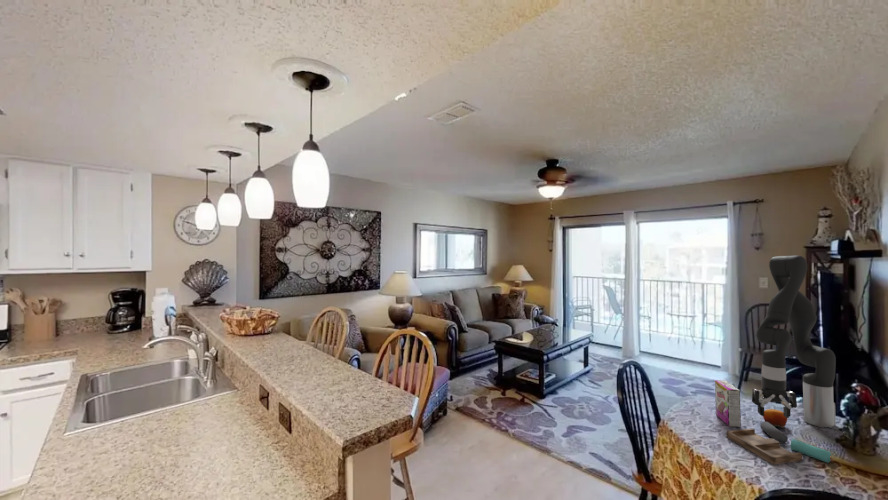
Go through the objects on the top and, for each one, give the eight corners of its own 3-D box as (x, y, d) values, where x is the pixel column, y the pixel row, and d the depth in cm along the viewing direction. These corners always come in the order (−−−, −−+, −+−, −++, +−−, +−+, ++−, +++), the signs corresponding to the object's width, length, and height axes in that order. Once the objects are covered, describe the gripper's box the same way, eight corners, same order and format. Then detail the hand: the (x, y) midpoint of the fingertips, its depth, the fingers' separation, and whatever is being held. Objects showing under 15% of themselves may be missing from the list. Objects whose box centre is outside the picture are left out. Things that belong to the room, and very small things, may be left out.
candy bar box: (715, 415, 171) (714, 379, 170) (727, 415, 170) (726, 380, 169) (728, 427, 160) (727, 389, 159) (741, 427, 159) (740, 389, 158)
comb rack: (752, 434, 153) (752, 428, 153) (802, 460, 134) (802, 453, 134) (726, 437, 152) (726, 431, 152) (773, 464, 133) (773, 457, 133)
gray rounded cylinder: (763, 432, 156) (758, 423, 156) (773, 429, 155) (768, 420, 155) (778, 445, 146) (773, 435, 147) (789, 441, 145) (784, 432, 146)
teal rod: (791, 451, 141) (789, 443, 141) (796, 444, 143) (793, 436, 142) (828, 465, 133) (825, 456, 132) (832, 457, 134) (829, 449, 133)
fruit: (769, 426, 156) (764, 406, 160) (762, 428, 162) (758, 409, 166) (794, 429, 153) (788, 409, 156) (786, 431, 159) (781, 411, 163)
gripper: (758, 378, 148) (759, 418, 149) (801, 381, 145) (801, 422, 145) (748, 372, 156) (748, 410, 156) (788, 374, 152) (788, 413, 153)
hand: (773, 416), depth 151 cm, fingers open, 8 cm apart
